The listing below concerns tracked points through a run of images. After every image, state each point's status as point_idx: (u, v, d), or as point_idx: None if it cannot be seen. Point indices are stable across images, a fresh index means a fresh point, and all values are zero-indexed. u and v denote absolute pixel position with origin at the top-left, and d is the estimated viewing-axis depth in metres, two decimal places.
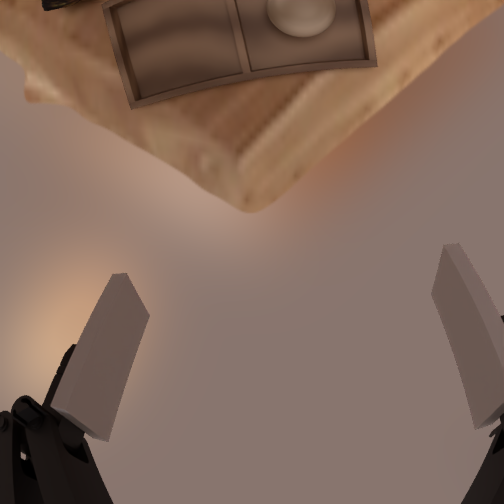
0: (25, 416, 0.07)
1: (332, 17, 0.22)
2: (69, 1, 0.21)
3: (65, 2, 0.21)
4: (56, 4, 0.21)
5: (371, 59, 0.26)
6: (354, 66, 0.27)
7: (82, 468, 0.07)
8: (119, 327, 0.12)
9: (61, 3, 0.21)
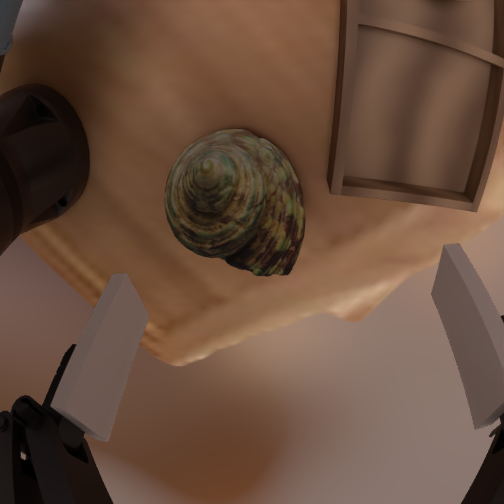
0: (25, 416, 0.07)
1: None
2: (302, 236, 0.25)
3: (300, 242, 0.25)
4: (295, 255, 0.25)
5: None
6: None
7: (82, 468, 0.07)
8: (119, 327, 0.12)
9: (298, 247, 0.25)
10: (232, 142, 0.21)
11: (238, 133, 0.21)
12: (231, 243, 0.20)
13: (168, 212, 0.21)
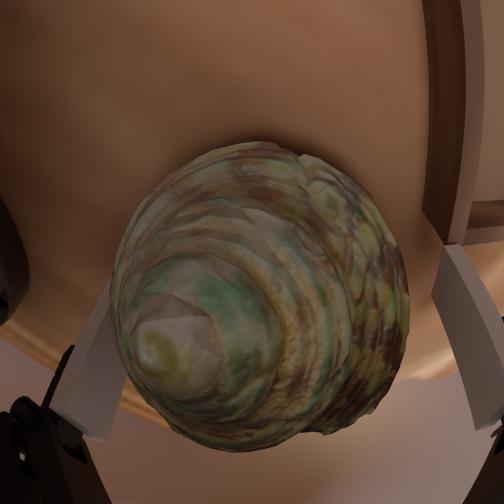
0: (24, 417, 0.07)
1: None
2: None
3: None
4: None
5: None
6: None
7: (81, 469, 0.07)
8: None
9: None
10: (237, 183, 0.08)
11: (248, 154, 0.09)
12: None
13: (127, 371, 0.09)
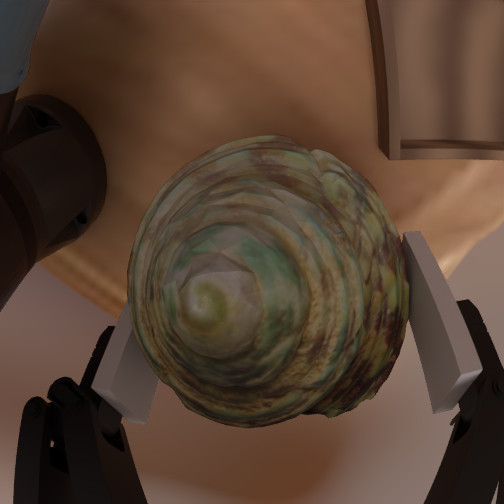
0: (63, 398, 0.08)
1: None
2: None
3: None
4: None
5: None
6: None
7: (118, 457, 0.08)
8: None
9: None
10: (258, 170, 0.09)
11: (266, 145, 0.10)
12: (292, 416, 0.08)
13: (142, 349, 0.09)
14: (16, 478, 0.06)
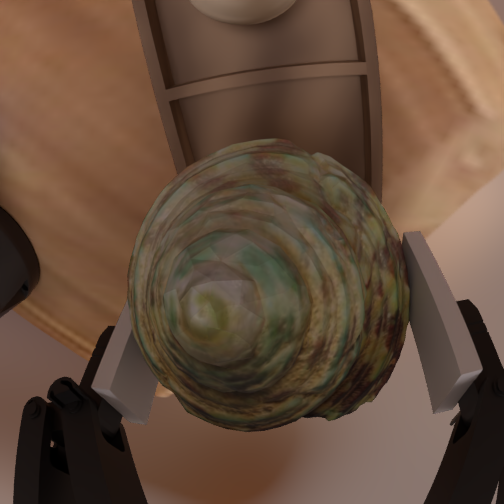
0: (63, 398, 0.08)
1: None
2: None
3: None
4: None
5: None
6: None
7: (118, 457, 0.08)
8: None
9: None
10: (258, 175, 0.09)
11: (266, 149, 0.10)
12: (293, 420, 0.08)
13: (143, 353, 0.09)
14: (16, 478, 0.06)
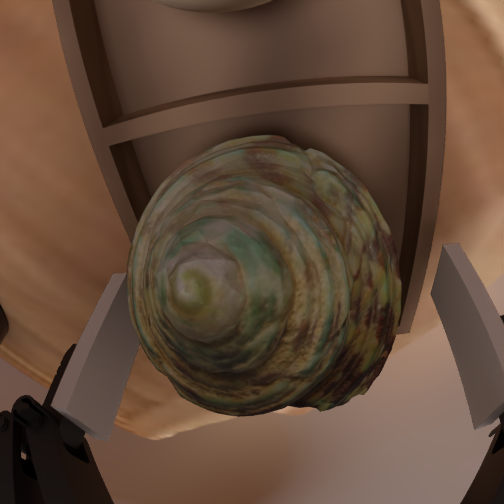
0: (25, 416, 0.07)
1: None
2: None
3: None
4: None
5: None
6: None
7: (82, 468, 0.07)
8: (119, 327, 0.12)
9: None
10: (252, 168, 0.09)
11: (261, 145, 0.10)
12: (281, 405, 0.08)
13: (139, 338, 0.10)
14: None
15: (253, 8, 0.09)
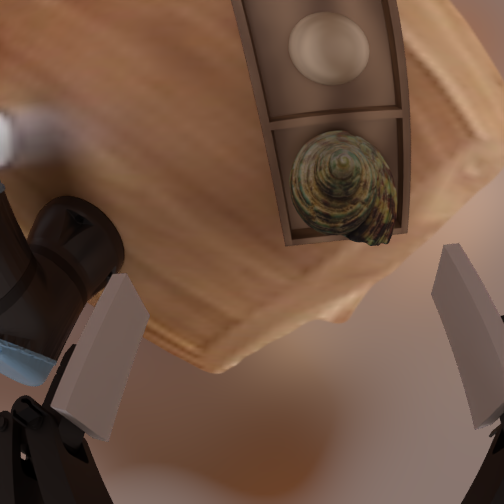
0: (25, 416, 0.07)
1: (344, 17, 0.18)
2: None
3: None
4: None
5: None
6: None
7: (82, 468, 0.07)
8: (119, 327, 0.12)
9: None
10: (340, 141, 0.25)
11: (340, 134, 0.26)
12: (357, 220, 0.24)
13: (300, 202, 0.26)
14: None
15: None
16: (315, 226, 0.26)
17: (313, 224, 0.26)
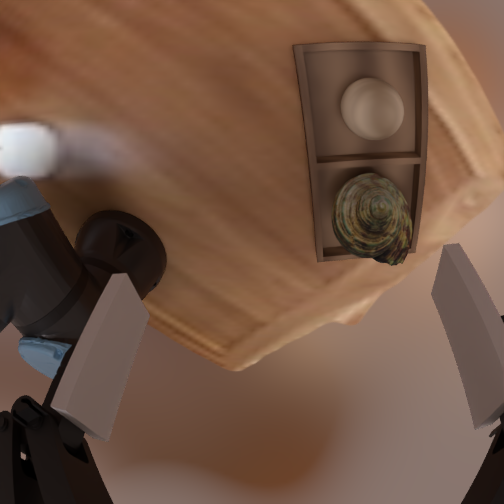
0: (25, 416, 0.07)
1: (389, 87, 0.25)
2: None
3: None
4: None
5: (418, 49, 0.24)
6: (426, 66, 0.25)
7: (82, 468, 0.07)
8: (119, 327, 0.12)
9: None
10: (373, 184, 0.32)
11: (372, 177, 0.33)
12: (386, 247, 0.31)
13: (342, 232, 0.32)
14: None
15: None
16: (352, 251, 0.33)
17: (351, 249, 0.33)
